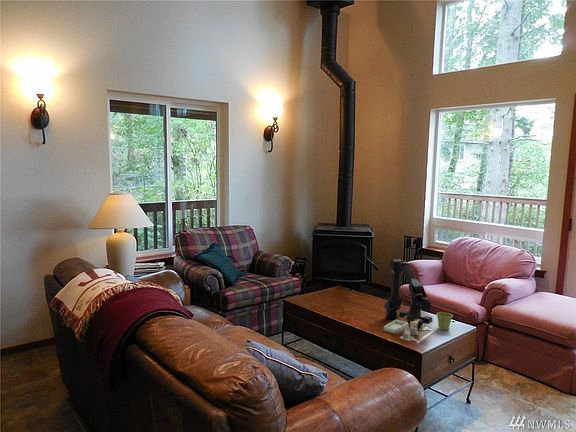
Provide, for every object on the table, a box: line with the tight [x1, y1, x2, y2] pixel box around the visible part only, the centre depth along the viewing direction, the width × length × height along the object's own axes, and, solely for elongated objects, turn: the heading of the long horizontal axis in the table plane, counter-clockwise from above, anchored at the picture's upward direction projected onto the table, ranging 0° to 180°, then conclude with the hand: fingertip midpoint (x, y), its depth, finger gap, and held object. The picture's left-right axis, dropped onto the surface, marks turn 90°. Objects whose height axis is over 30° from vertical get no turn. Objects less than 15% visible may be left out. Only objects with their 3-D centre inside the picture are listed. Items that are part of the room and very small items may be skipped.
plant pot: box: [436, 311, 453, 331], centre depth 254 cm, size 9×9×9 cm
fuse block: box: [399, 323, 437, 345], centre depth 244 cm, size 11×27×6 cm, turn 139°
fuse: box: [409, 320, 421, 336], centre depth 246 cm, size 4×4×7 cm
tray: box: [382, 319, 409, 335], centre depth 253 cm, size 9×17×2 cm, turn 139°
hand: (414, 330), depth 246 cm, fingers closed on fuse, 4 cm apart
